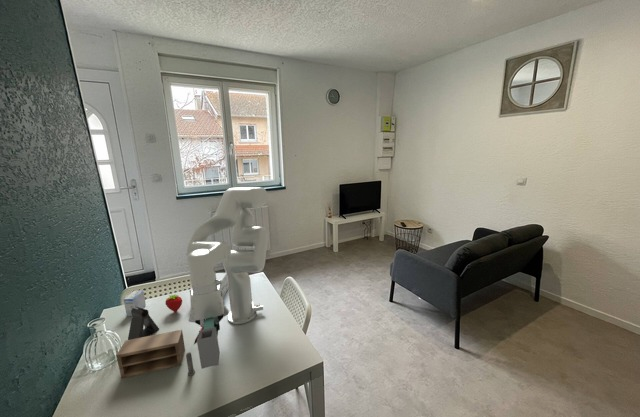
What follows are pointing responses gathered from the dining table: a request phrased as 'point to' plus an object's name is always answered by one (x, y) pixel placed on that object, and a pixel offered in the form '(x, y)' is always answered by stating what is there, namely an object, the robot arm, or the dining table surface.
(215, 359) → the teal desk organizer
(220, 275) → the supplement box
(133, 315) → the phone stand
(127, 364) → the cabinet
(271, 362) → the dining table surface
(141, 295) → the medicine box
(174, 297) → the strawberry
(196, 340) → the pen
